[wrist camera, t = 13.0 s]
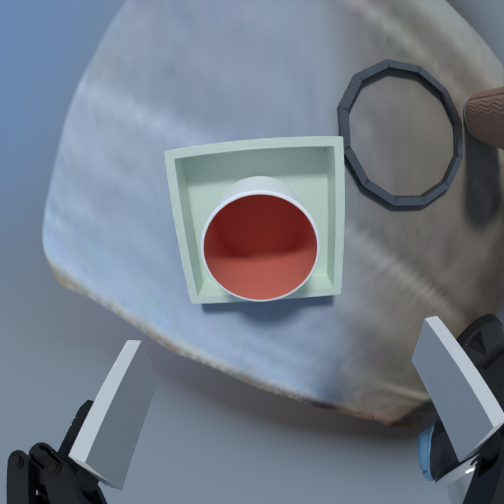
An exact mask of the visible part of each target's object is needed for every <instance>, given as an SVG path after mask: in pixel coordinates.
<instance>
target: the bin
mask: <svg viewBox="0 0 504 504" xmlns="http://www.w3.org/2000/svg"><path fill="white" fill-rule="evenodd" d="M164 155H165V163H166V170H167V177H168V184H169V191H170V197H171V204H172V210H173V216H174V222H175V227H176V233H177V238H178V244H179V249H180V254H181V259H182V264H183V269H184V274H185V278H186V283H187V288H188V292H189V296H190V301H191V304H204V303H229V302H248V300H244V299H240V298H237V297H235V296H233V295H231V294H229V293H227V292H226V291H224V290H223V289H222V288H220V287H219V286H218V285H217V284H216V283H215V282H214V281H213V280H212V278H211V277H210V276H209V274H208V272H207V270H206V269H205V266H204V264H203V261H202V257H201V249H200V242H201V235H202V231H203V228H204V225H205V223H206V221H207V219H208V218H209V216H210V215H211V213H212V211H213V210H214V208H215V207H216V205H217V203H218V202H219V200H220V199H221V197H222V196H223V194H224V193H225V192H226V191H227V190H228V189H229V188H230V187H231V186H232V185H234V184H235V183H237V182H238V181H240V180H243V179H245V178H249V177H254V176H266V177H272V178H275V179H278V180H280V181H282V182H284V183H285V184H287V185H288V186H289V187H291V188H292V189H293V190H294V191H295V193H296V194H297V195H298V197H299V198H300V200H301V201H302V203H303V204H304V206H305V207H306V209H307V210H308V212H309V213H310V215H311V216H312V218H313V220H314V221H315V224H316V226H317V228H318V231H319V236H320V256H319V260H318V263H317V266H316V268H315V270H314V272H313V274H312V275H311V277H310V278H309V279H308V280H307V282H306V283H305V284H304V285H303V286H302V287H300V288H299V289H298V290H296V291H295V292H293V293H292V294H290V295H288V296H286V297H283V298H280V299H293V298H306V297H317V296H328V295H338V294H341V282H342V268H343V249H344V216H345V179H344V147H343V136H312V137H282V138H265V139H252V140H241V141H231V142H222V143H213V144H206V145H198V146H191V147H185V148H178V149H172V150H167V151H164ZM280 299H277V300H280Z"/></svg>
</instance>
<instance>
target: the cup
mask: <svg viewBox="0 0 504 504" xmlns="http://www.w3.org/2000/svg"><path fill="white" fill-rule="evenodd" d="M200 249H201V257H202V261H203V264H204V266H205V269H206V270H207V272H208V274H209V276H210V277H211V278H212V280H213V281H214V282H215V283H216V284H217V285H218V286H219V287H220V288H222V289H223V290H224V291H226V292H227V293H229V294H231V295H233V296H235V297H237V298H240V299H244V300H248V301H255V302H266V301H273V300H277V299H280V298H283V297H286V296H288V295H290V294H292V293H293V292H295V291H296V290H298V289H299V288H300V287H302V286H303V285H304V284H305V283H306V282H307V280H308V279H309V278H310V277H311V275H312V274H313V272H314V270H315V268H316V266H317V263H318V260H319V256H320V236H319V231H318V228H317V226H316V224H315V221H314V220H313V218H312V216H311V215H310V213H309V212H308V210H307V209H306V207H305V206H304V204H303V203H302V201H301V200H300V198H299V197H298V195H297V194H296V193H295V191H294V190H293V189H292V188H291V187H289V186H288V185H287V184H285V183H284V182H282V181H280V180H278V179H275V178H272V177H266V176H254V177H249V178H245V179H243V180H240V181H238V182H237V183H235V184H234V185H232V186H231V187H230V188H229V189H228V190H227V191H226V192H225V193H224V194H223V196H222V197H221V199H220V200H219V202H218V203H217V205H216V207H215V208H214V210H213V211H212V213H211V215H210V216H209V218H208V219H207V221H206V223H205V225H204V228H203V231H202V235H201V242H200Z"/></svg>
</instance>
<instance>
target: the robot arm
mask: <svg viewBox="0 0 504 504" xmlns="http://www.w3.org/2000/svg"><path fill="white" fill-rule="evenodd" d="M411 361H412V362H413V364H414V366H415V368H416V370H417V372H418V374H419V376H420V378H421V379H422V381H423V383H424V385H425V387H426V389H427V391H428V393H429V395H430V397H431V399H432V401H433V403H434V406H435V408H436V410H437V412H438V414H439V416H440V418H441V419H439V420H437V421H435V422H434V424H433V425H431V426H430V427H428V428H427V429H426V430H424V431H423V432H422V433H421V434H420V436H419V438H418V442H417V454H418V460H419V464H420V468H421V470H422V472H423V475H424V477H425V479H426V480H428V481H433V480H435V482H436V485H437V486H441V487H445V488H446V489H447V492H448V496H449V499H450V503H451V504H504V329H503V325H502V323H501V321H500V320H499V319H498V318H497V317H496V316H495V315H493V314H488V315H485V316H482V317H481V318H479V319H477V320H476V321H475V322H473V323H472V324H471V325H470V326H469V327H468V328H467V329H466V330H465V331H464V332H463V333H462V334H461V335H460V337H459V338H458V339H457V341H456V340H455V338H454V337H453V336H452V334H451V333H450V332H449V330H448V329H447V328H446V326H445V325H444V324H443V323H442V321H441V320H440V319H439V318H438V316H434V317H429V318H425V319H424V323H423V326H422V330H421V333H420V336H419V339H418V342H417V345H416V348H415V351H414V354H413V357H412V360H411ZM157 383H158V378H157V376H156V373H155V371H154V369H153V367H152V365H151V362H150V360H149V358H148V355H147V353H146V351H145V348H144V346H143V344H142V341H133V340H128V341H127V342H126V344H125V345H124V347H123V349H122V351H121V353H120V354H119V356H118V358H117V360H116V362H115V363H114V365H113V367H112V369H111V371H110V373H109V374H108V376H107V378H106V380H105V382H104V384H103V386H102V388H101V390H100V391H99V393H98V395H97V397H96V399H95V401H91V400H87V401H86V402H85V403H84V404H83V405H82V406H81V407H80V409H79V410H78V412H77V414H76V416H75V417H76V418H75V419H74V420H73V422H72V426H70V428H69V430H68V432H67V434H66V436H65V439H64V440H63V442H62V444H61V447H60V449H59V451H58V452H56V451H55V450H54V449H52V447H51V446H49V445H48V444H46V443H43V442H42V443H37V444H35V445H34V446H33V447H32V448H31V449H30V451H29V454H28V455H27V454H25V453H24V452H23V451H21V450H16V451H14V452H12V453H11V455H10V456H9V459H8V467H7V504H107V502H106V500H105V498H104V496H103V493H102V491H101V489H100V487H99V486H98V482H99V481H101V482H102V483H103V484H105V485H106V486H109V487H112V488H115V489H119V490H122V488H123V485H124V482H125V478H126V475H127V472H128V469H129V465H130V462H131V459H132V456H133V453H134V450H135V447H136V443H137V441H138V438H139V435H140V432H141V429H142V426H143V423H144V420H145V417H146V414H147V411H148V408H149V406H150V403H151V400H152V397H153V394H154V392H155V389H156V386H157ZM36 490H37V491H38V495H36Z"/></svg>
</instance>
